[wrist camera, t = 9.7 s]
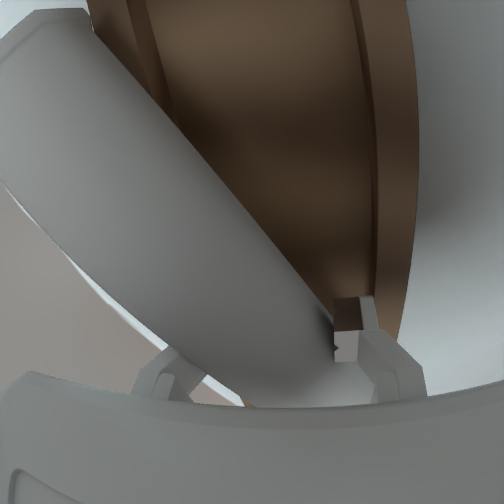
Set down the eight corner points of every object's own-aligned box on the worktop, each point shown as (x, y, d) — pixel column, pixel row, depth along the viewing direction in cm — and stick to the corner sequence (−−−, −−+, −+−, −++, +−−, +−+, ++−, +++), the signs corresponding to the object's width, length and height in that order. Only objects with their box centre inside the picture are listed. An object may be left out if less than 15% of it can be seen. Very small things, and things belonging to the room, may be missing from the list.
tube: (422, 437, 14) (42, -19, 4) (346, 478, 15) (-72, 148, 5) (389, 377, 19) (107, 23, 8) (325, 416, 20) (15, 122, 9)
